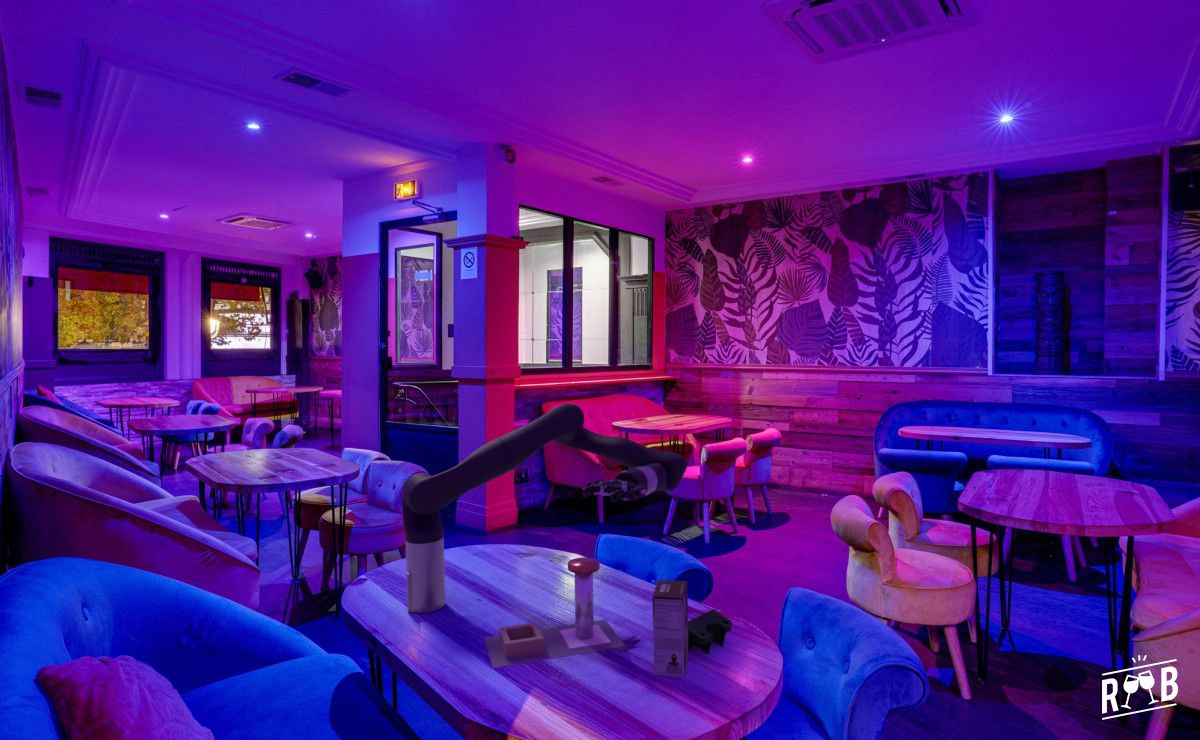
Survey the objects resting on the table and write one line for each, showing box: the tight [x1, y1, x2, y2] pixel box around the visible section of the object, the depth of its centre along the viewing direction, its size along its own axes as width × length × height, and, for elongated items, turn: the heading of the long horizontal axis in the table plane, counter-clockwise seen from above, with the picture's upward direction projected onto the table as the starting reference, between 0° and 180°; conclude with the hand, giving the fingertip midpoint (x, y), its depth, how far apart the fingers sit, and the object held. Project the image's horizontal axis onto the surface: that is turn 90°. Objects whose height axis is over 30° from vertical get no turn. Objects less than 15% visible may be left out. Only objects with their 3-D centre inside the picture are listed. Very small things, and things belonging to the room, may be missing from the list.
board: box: [483, 619, 627, 669], centre depth 141 cm, size 28×14×4 cm, turn 107°
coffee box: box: [652, 579, 689, 678], centre depth 132 cm, size 9×6×16 cm
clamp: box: [688, 609, 733, 656], centre depth 141 cm, size 12×6×9 cm, turn 127°
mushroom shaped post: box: [567, 557, 601, 640], centre depth 143 cm, size 7×7×16 cm
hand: (597, 495), depth 153 cm, fingers open, 8 cm apart
